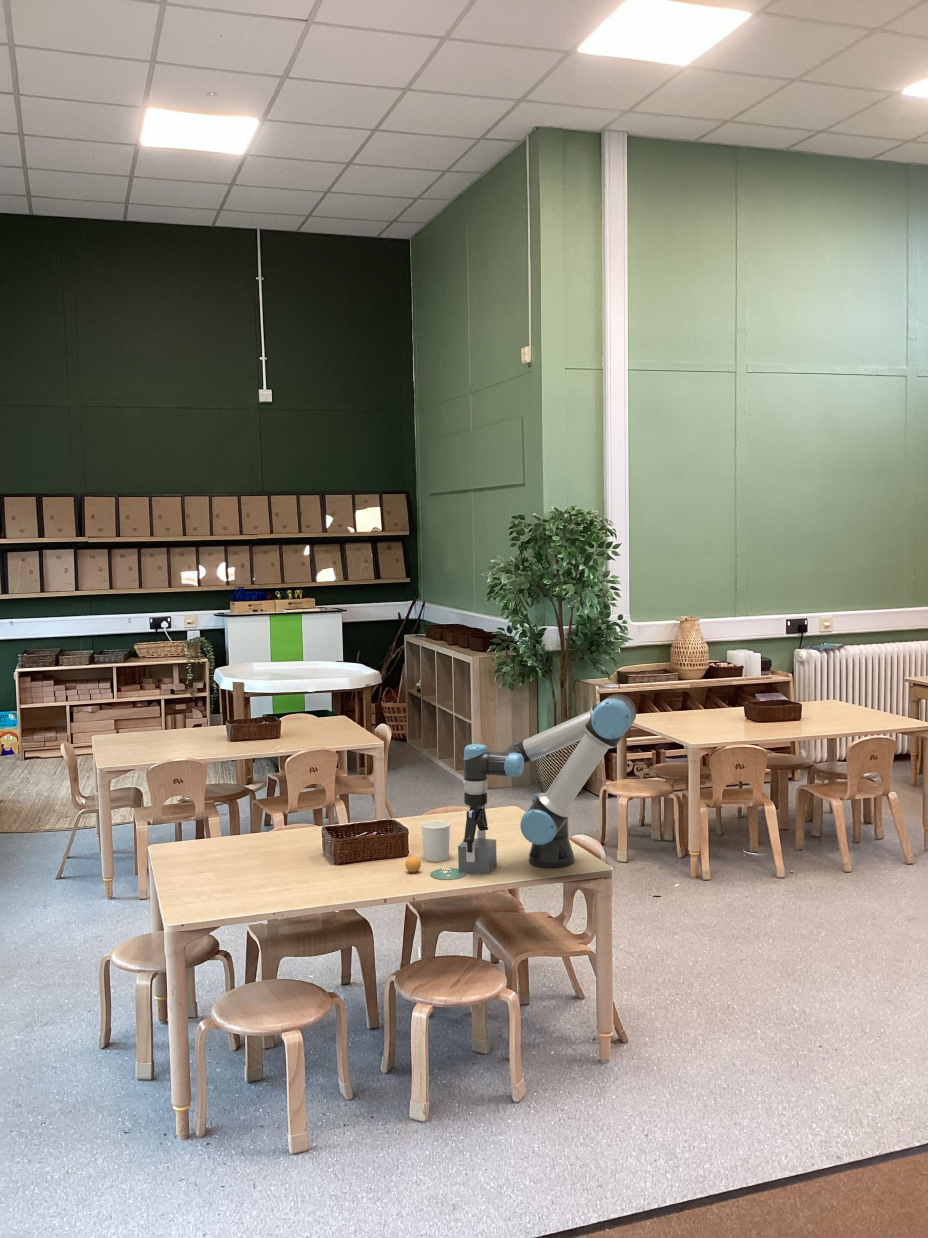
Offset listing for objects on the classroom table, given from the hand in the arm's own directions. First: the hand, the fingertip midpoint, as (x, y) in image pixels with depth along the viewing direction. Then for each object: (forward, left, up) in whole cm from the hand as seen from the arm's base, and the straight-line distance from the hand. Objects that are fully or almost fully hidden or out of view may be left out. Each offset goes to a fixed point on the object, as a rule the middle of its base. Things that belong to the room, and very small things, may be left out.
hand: (476, 856), depth 354 cm
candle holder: (+17, -9, -5) cm, 19 cm away
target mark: (+8, +7, -4) cm, 11 cm away
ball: (+20, +7, -2) cm, 21 cm away
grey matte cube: (0, 0, -4) cm, 4 cm away
